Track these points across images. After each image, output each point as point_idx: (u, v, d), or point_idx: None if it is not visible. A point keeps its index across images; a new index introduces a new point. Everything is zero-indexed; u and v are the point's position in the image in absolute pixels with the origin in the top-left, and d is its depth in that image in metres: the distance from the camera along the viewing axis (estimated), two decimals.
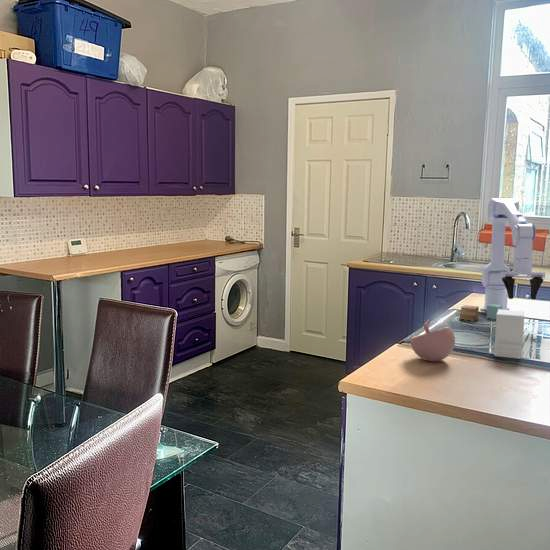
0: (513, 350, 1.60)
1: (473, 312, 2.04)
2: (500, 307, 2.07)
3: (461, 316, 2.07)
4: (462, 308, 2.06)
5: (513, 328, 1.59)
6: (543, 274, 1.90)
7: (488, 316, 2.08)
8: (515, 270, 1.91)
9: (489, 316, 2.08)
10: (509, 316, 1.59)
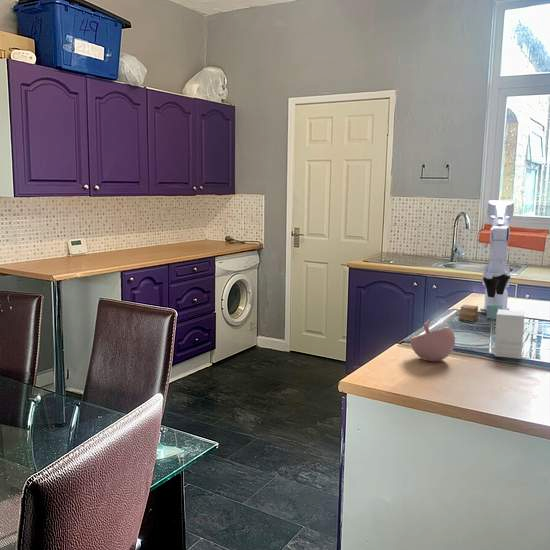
0: (513, 350, 1.60)
1: (473, 312, 2.03)
2: (500, 307, 2.07)
3: (461, 316, 2.07)
4: (462, 308, 2.05)
5: (513, 328, 1.59)
6: (507, 271, 2.10)
7: (488, 316, 2.08)
8: (495, 270, 2.04)
9: (489, 316, 2.08)
10: (509, 316, 1.59)
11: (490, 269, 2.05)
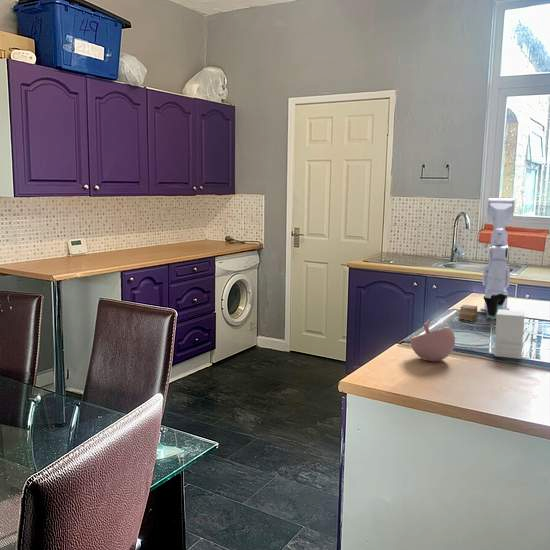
0: (513, 350, 1.60)
1: (473, 312, 2.04)
2: (500, 307, 2.07)
3: (460, 316, 2.07)
4: (461, 308, 2.06)
5: (513, 328, 1.59)
6: (505, 290, 2.11)
7: (488, 316, 2.08)
8: (494, 290, 2.05)
9: (489, 316, 2.08)
10: (509, 316, 1.59)
11: (489, 288, 2.06)
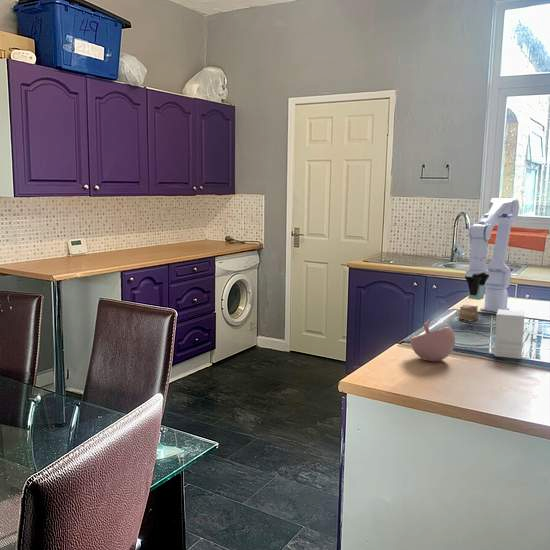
0: (513, 350, 1.60)
1: (472, 312, 2.04)
2: (482, 287, 2.04)
3: (460, 316, 2.07)
4: (461, 308, 2.06)
5: (513, 328, 1.59)
6: (487, 269, 2.09)
7: (470, 296, 2.06)
8: (476, 269, 2.02)
9: (471, 296, 2.05)
10: (509, 316, 1.59)
11: (470, 267, 2.04)
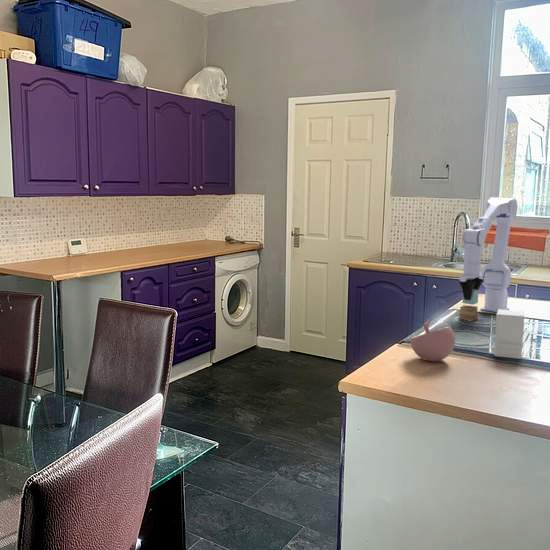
0: (513, 350, 1.60)
1: (472, 312, 2.04)
2: (476, 291, 2.04)
3: (461, 316, 2.07)
4: (461, 308, 2.06)
5: (513, 328, 1.59)
6: (482, 274, 2.09)
7: (464, 301, 2.06)
8: (470, 273, 2.02)
9: (465, 301, 2.05)
10: (509, 316, 1.59)
11: (464, 272, 2.04)
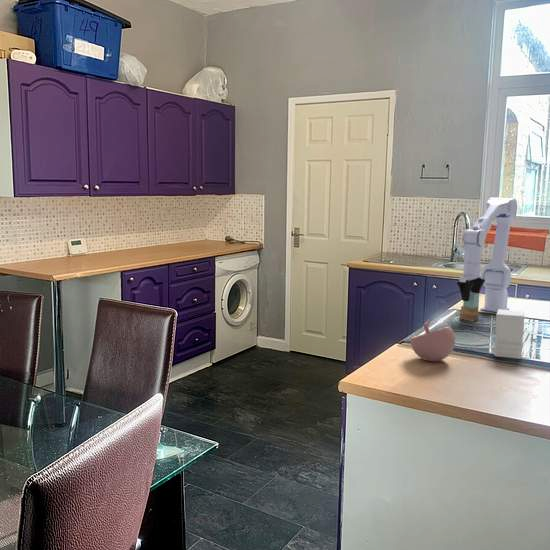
0: (513, 350, 1.60)
1: (473, 312, 2.04)
2: (477, 295, 2.05)
3: (461, 316, 2.07)
4: (462, 308, 2.06)
5: (513, 328, 1.59)
6: (482, 274, 2.09)
7: (465, 304, 2.06)
8: (470, 274, 2.02)
9: (466, 304, 2.06)
10: (509, 316, 1.59)
11: (464, 272, 2.04)
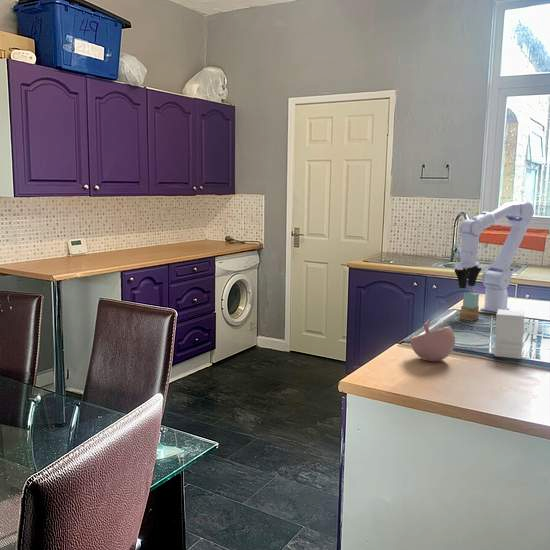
0: (513, 350, 1.60)
1: (473, 312, 2.04)
2: (476, 295, 2.05)
3: (461, 316, 2.07)
4: (462, 308, 2.06)
5: (513, 328, 1.59)
6: (478, 263, 2.17)
7: (464, 304, 2.06)
8: (467, 262, 2.11)
9: (465, 304, 2.06)
10: (509, 316, 1.59)
11: (462, 261, 2.13)
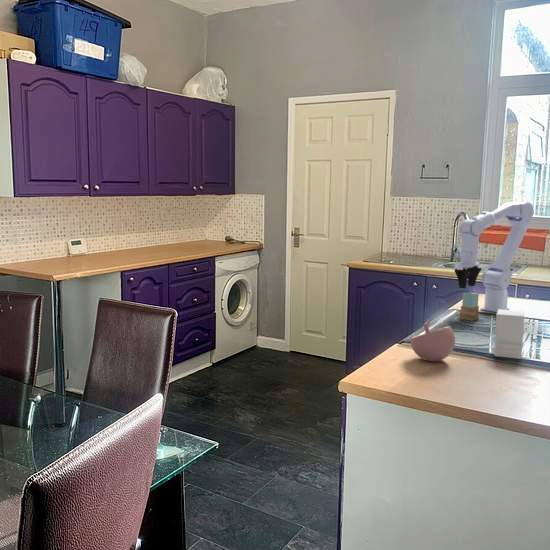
0: (513, 350, 1.60)
1: (473, 312, 2.04)
2: (476, 295, 2.05)
3: (461, 316, 2.07)
4: (462, 307, 2.06)
5: (513, 328, 1.59)
6: (478, 263, 2.17)
7: (464, 304, 2.06)
8: (467, 262, 2.11)
9: (465, 304, 2.06)
10: (509, 316, 1.59)
11: (462, 261, 2.13)
